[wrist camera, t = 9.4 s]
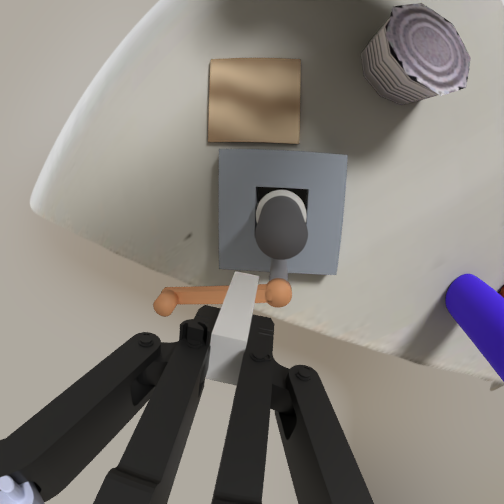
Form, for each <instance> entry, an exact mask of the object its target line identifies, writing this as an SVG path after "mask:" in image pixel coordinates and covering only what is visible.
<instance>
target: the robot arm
mask: <svg viewBox="0 0 504 504" xmlns="http://www.w3.org/2000/svg"><path fill="white" fill-rule="evenodd" d="M258 281H259V276H257V275H252V274H247V273H242V272H237V271H235V273H234V275H233V278H232V281H231V283H230V286H229V289H228V291H227V294H226V296H225V299H224V302H223V304H222V307H221V308H216V307H211V306H207V305H205V306H203V307H201V308H200V309H199V310H198V312H197V314H196V316H195V318H194V319H191V320H186V321H184V322H182V323H181V324H180V337H179V341H178V342H174V343H164V342H163V343H162V342H161V340H160V339H159V337H158V336H156V335H155V334H152V333H148V332H143V333H138V334H136V335H134V336H133V337H132V338H130V339H129V340H128V341H127V342H125V343H124V344H123V345H121V346H120V347H119V348H118V349H117V350H115V351H114V352H113V353H111V354H110V355H109V356H108V357H106V358H105V359H104V360H103V361H101V362H100V363H99V364H98V365H96V366H95V367H94V368H93V369H91V370H90V371H89V372H88V373H86V374H85V375H84V376H83V377H81V378H80V379H79V380H78V381H76V382H75V383H74V384H73V385H71V386H70V387H69V388H68V389H66V390H65V391H64V392H63V393H62V394H60V395H59V396H58V397H56V398H55V399H54V400H53V401H51V402H50V403H49V404H48V405H46V406H45V407H44V408H43V409H42V410H40V411H39V412H38V413H37V414H35V415H34V416H33V417H32V418H30V419H29V420H28V421H27V422H25V423H24V424H23V425H22V426H21V427H19V428H18V429H17V430H16V431H14V432H13V433H12V434H11V435H10V436H8V437H7V438H6V439H3V440H0V504H44V502H46V501H48V500H50V499H51V498H53V497H54V496H56V495H57V494H59V493H60V492H61V491H62V490H63V489H64V488H66V486H68V484H69V483H70V482H71V481H72V480H73V479H74V478H75V477H76V476H77V475H78V474H79V473H80V472H81V471H82V470H83V469H84V468H85V467H86V466H87V465H88V464H89V463H90V462H91V461H92V460H93V459H94V458H95V457H96V455H98V454H99V453H100V451H101V450H102V449H103V448H104V447H105V446H106V445H107V444H108V443H109V442H110V441H111V440H112V439H113V438H114V437H115V436H116V435H117V434H118V432H119V431H120V430H121V429H122V428H123V427H124V426H125V425H126V424H127V423H128V422H129V421H130V420H131V419H132V418H133V416H134V415H135V414H136V413H137V412H138V411H139V410H140V409H141V408H142V407H143V406H144V405H145V403H146V402H147V401H148V400H149V399H150V400H149V402H148V404H147V406H146V408H145V410H144V412H143V414H142V416H141V418H140V420H139V422H138V424H137V426H136V429H135V431H134V433H133V435H132V437H131V439H130V441H129V443H128V446H127V448H126V450H125V452H124V454H123V456H122V458H121V460H120V463H119V464H118V466H117V467H116V468H112V469H111V470H110V471H109V472H108V474H107V475H106V477H105V479H104V481H103V484H102V486H101V488H100V490H99V492H98V494H97V496H96V499H95V501H94V503H93V504H167V502H168V498H169V495H170V492H171V489H172V486H173V482H174V479H175V476H176V473H177V470H178V466H179V463H180V460H181V457H182V454H183V451H184V448H185V445H186V441H187V438H188V435H189V432H190V429H191V425H192V423H193V419H194V416H195V413H196V410H197V407H198V404H199V401H200V397H201V394H202V391H203V388H204V381H205V377H206V379H210V380H214V381H219V382H223V383H228V384H233V385H237V388H236V392H235V396H234V401H233V406H232V411H231V415H230V420H229V425H228V429H227V435H226V439H225V444H224V448H223V453H222V457H221V462H220V467H219V471H218V476H217V480H216V485H215V490H214V494H213V499H212V503H211V504H262V492H263V482H264V472H265V462H266V452H267V441H268V429H269V417H270V409H273V410H275V416H276V420H277V424H278V428H279V432H280V435H281V439H282V443H283V447H284V451H285V455H286V459H287V463H288V466H289V470H290V474H291V478H292V481H293V485H294V489H295V493H296V496H297V500H298V504H374V503H373V500H372V498H371V496H370V493H369V491H368V488H367V486H366V484H365V481H364V479H363V477H362V474H361V472H360V470H359V467H358V465H357V463H356V460H355V458H354V455H353V453H352V451H351V449H350V446H349V444H348V442H347V439H346V437H345V435H344V432H343V430H342V428H341V426H340V423H339V421H338V418H337V416H336V414H335V412H334V409H333V407H332V405H331V403H330V401H329V398H328V396H327V393H326V391H325V389H324V386H323V384H322V382H321V380H320V377H319V375H318V373H317V372H316V371H315V370H314V369H312V368H311V367H308V366H305V365H296V366H293V367H292V368H290V369H288V368H286V367H283V366H281V365H280V364H278V363H277V362H276V361H275V360H274V358H273V355H272V351H273V335H274V323H273V321H272V320H271V318H268V317H263V316H258V315H253V308H254V303H255V298H256V292H257V287H258Z"/></svg>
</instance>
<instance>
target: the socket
mask: <svg viewBox="0 0 504 504" xmlns="http://www.w3.org/2000/svg"><path fill="white" fill-rule="evenodd" d="M347 158H348V155H341V154H330V153H318V152H305V151H288V150H264V149H219V269H230V270H247V271H264V272H270V276H269V281H270V280H272V279H275V278H282V279H285V280H286V281H288V273H303V274H324V275H336V274H337V267H338V259H339V251H340V242H341V233H342V224H343V213H344V202H345V190H346V175H347ZM257 187H278V188H297V189H307V190H306V207H305V208H306V213H307V218H306V226H307V229H308V239H307V243H306V245H305V247H304V249H303V250H302V251H301V252H300V253H299V254H298V255H296V256H295V257H292V258H290V259H285V260H278V259H273V258H271V257H269V256H267V255H266V254H264V253H263V252H262V251H261V250H260V248H259V247H258V245H257V242H256V239H255V230H256V223H257V221H256V210H257Z"/></svg>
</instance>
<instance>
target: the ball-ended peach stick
mask: <svg viewBox="0 0 504 504" xmlns="http://www.w3.org/2000/svg"><path fill="white" fill-rule="evenodd" d="M228 289H229V286H200V287H165V288H164V289H163V290H162V292H161V294H160V295H159V297H158V298H157V299H156V300H155V302H154V304H153V306H154V310H155V311H156V313H157V314H159V315H161V316H164V317H166V316H169V315H170V314H171V313H172V311H173V310H174V308H175V307H176V305H177V304H223V302H224V299H225V296H226V294H227V291H228ZM291 298H292V290H291V285H290V284H289V282H288V281H286V280H285V279H282V278H275V279H272V280H270V281H269V282H268V283H267V284H259V285H258V287H257V292H256V298H255V303H268V304H269V305H271V306H273V307H283V306H286V305H287V304H288V303H289V302H290V300H291Z"/></svg>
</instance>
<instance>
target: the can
mask: <svg viewBox="0 0 504 504" xmlns="http://www.w3.org/2000/svg"><path fill="white" fill-rule="evenodd" d="M361 58H362V65H363V73H364V77H365V78H366V79H367V80H368V82H369V83H370V84H371V85H372V87H373V88H374V89H375V90H376V92H377V93H378V94H379V95H380V96H382V97H384V98H387V99H389V100H391V101H394V102H396V103H398V104H401V105H403V104H407V103H411V102H415V101H420V100H423V99H426V98H430V97H433V96H436V95H440V96H442V95H445V94H448V93H451V92H454V91H457V90H460V89H463V88H466V85H467V79H468V73H469V66H470V56H469V54H468V52H467V50H466V48H465V46H464V44H463V42H462V40H461V38H460V36H459V34H458V32H457V31H456V29H455V27H454V25H453V24H452V23H450V22H449V21H448V20H446V19H445V18H443V17H442V16H441V15H439V14H438V13H436V12H435V11H433V10H432V9H430V8H428V7H427V6H425V5H424V4H422V3H418V4H409V5H401V6H394V7H393V8H392V12H391V16H390V18H389V19H388V20H387V21H386V23H385V24H384V25H383V26H382V27H381V28H380V29H379V31H378V32H377V33H376V34H375V35H374V37H373V38H372V39H371V40H370V42H369V43H368V45H367V46H366V48H365V49H364V50H363V52H362V53H361Z"/></svg>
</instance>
